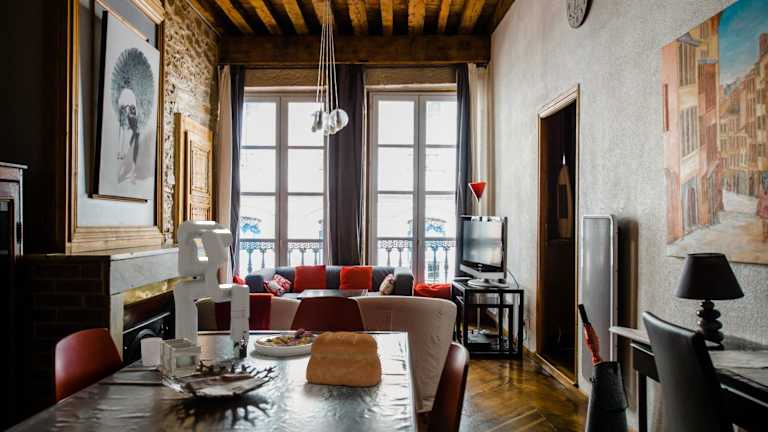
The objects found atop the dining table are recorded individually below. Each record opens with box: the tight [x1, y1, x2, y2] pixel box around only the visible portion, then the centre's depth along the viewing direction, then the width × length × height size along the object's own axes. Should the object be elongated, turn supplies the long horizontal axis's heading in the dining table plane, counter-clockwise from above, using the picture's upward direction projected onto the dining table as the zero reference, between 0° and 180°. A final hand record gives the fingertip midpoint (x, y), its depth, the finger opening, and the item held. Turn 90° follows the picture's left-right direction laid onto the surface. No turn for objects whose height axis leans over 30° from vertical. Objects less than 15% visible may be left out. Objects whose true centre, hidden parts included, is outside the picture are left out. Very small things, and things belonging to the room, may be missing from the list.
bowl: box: [253, 328, 319, 358], centre depth 233 cm, size 30×30×8 cm
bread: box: [305, 331, 383, 387], centre depth 185 cm, size 16×26×17 cm, turn 77°
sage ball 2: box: [232, 345, 241, 360], centre depth 218 cm, size 6×6×6 cm
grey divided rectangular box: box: [155, 338, 202, 377], centre depth 199 cm, size 21×12×10 cm, turn 38°
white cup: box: [140, 337, 163, 367], centre depth 210 cm, size 8×8×10 cm
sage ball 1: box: [176, 356, 191, 368], centre depth 195 cm, size 6×6×6 cm
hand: (240, 356), depth 218 cm, fingers closed on sage ball 2, 5 cm apart
